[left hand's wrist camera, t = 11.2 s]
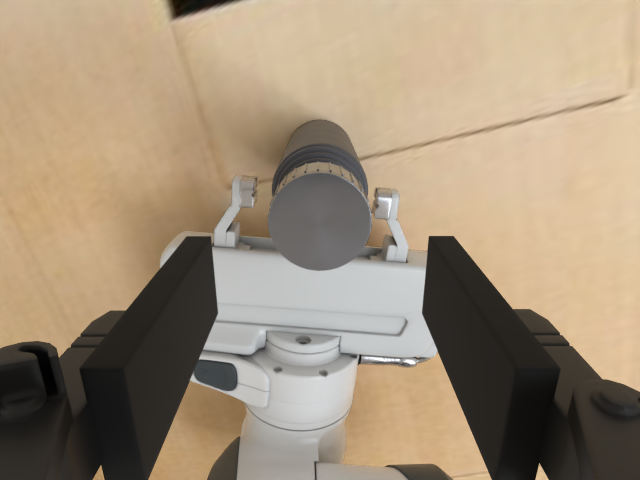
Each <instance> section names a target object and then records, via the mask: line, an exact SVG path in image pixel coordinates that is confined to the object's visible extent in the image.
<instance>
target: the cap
mask: <svg viewBox="0 0 640 480" xmlns="http://www.w3.org/2000/svg"><path fill="white" fill-rule="evenodd" d="M368 202H369V200H368V197H367V195H366V192H365V190H364V191H363V189H362V186H361V183H360V181H358V180H357V179H356V178H355V177H354V176H353V174H352V173H351V172H348V171H347V170H345V169H344V168H342V166H337V165H334V164H331V162H329V163H324V162H319V161H317V162H316V163H309V164H307V163H305V165H303V166H300V167H298V168H294V170H293V171H292V172H290V173H289V174H288V175H285V177H284V179H283V180H282V182H281V183H280V184H278V186H277V189H276V191H275V194H274V195H273V198H272V200H271V203H270V206H271V207H270V211H269V214H268V227H269V232H270V236H271V239H272V241H273V243H274V245H275V247H276V248H277V250H278V251H279V252H280V253H281V254H282V255H283V257H285V258H286V259H287V260H288V261H290V262H291V263H293V264H295V265H297V266H299V267H301V268H304V269H308V270H315V271H326V270H332V269H335V268H339V267H341V266H343V265H345V264H347V263H349V262H350V261H352V260H353V259H354V258H355V257H356V256H357V255H358V254H359V253H360V252H361V251H362V250H363V248H364V247H365V245H366V243H367V241H368V239H369V236H370V232H371V226H372V217H371V214H372V211H371V209H370V206H369V203H368Z"/></svg>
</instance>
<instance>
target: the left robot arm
mask: <svg viewBox="0 0 640 480" xmlns="http://www.w3.org/2000/svg"><path fill="white" fill-rule="evenodd" d="M217 315H218V306H217V295H216V285H215V274H214V263H213V252H212V241H211V236H186V237H185V239H184V240H183V241H182V242H181V244H180V245H179V246H178V247H177V249H176V250H175V251H174V252H173V254H172V255H171V256H170V257H169V258H168V260H167V261H166V262H165V263H164V265H163V266H162V267H161V268H160V270H159V271H158V272H157V273H156V274H155V276H154V277H153V278H152V279H151V281H150V282H149V283H148V284H147V286H146V287H145V288H144V289H143V291H142V292H141V293H140V294H139V295H138V297H137V298H136V299H135V300H134V302H133V303H132V304H131V305H130V307H129V308H128V309H127V310H126V311H109V312H108V313H106V314H104V315H103V316H101V317H99V318H98V319H96V320H94V321H93V322H91V324H90V325H89V326H88V327H87V328H86V329H85V330H84V331H83V332H82V333H81V337H78V338H77V339H76V340H75V341H74V342H73V343H72V344H71V348H68V349H67V350H66V351H65V352H64V353H63V354H62V355H61V357H60V358H59V357H58V353H57V349H56V348H55V347H54V346H53V345H51V344H50V343H45V342H39V341H34V342H22V343H18V344H14V345H10V346H6V347H3V348H1V349H0V480H92V479H93V478H94V476H95V474H96V472H97V471H98V469H99V467H100V465H102V470H103V474H104V478H105V480H148V479H149V476H150V474H151V472H152V469H153V467H154V464H155V462H156V460H157V457H158V455H159V453H160V450H161V448H162V445H163V443H164V441H165V438H166V436H167V434H168V431H169V429H170V426H171V424H172V422H173V419H174V417H175V415H176V412H177V410H178V407H179V405H180V403H181V400H182V398H183V396H184V393H185V391H186V388H187V386H188V384H189V381H190V379H191V377H192V374H193V372H194V369H195V367H196V365H197V362H198V360H199V358H200V355H201V353H202V351H203V348H204V346H205V343H206V341H207V339H208V336H209V334H210V332H211V329H212V327H213V324H214V322H215V320H216V317H217ZM422 315H423V317H424V320H425V322H426V324H427V327H428V329H429V332H430V334H431V336H432V339H433V341H434V343H435V346H436V348H437V351H438V353H439V355H440V358H441V360H442V362H443V365H444V367H445V369H446V372H447V374H448V377H449V379H450V381H451V384H452V386H453V388H454V391H455V393H456V396H457V398H458V400H459V403H460V405H461V407H462V410H463V412H464V415H465V417H466V419H467V422H468V424H469V426H470V429H471V431H472V434H473V436H474V438H475V441H476V443H477V445H478V448H479V450H480V453H481V455H482V457H483V460H484V462H485V464H486V467H487V469H488V472H489V474H490V476H491V479H492V480H535V478H536V474H537V470H538V465H539V463H540V465H541V466H542V468H543V470H544V472H545V474H546V475H547V477H548V479H549V480H640V392H639V391H636V390H634V389H632V388H630V387H628V386H626V385H624V384H620V383H617V382H613V381H610V380H604V379H602V378H601V377H600V376H599V375H598V374H597V373H596V372H595V371H594V370H593V369H592V367H591V366H590V365H589V364H588V363H587V362H586V361H585V360H584V359H583V358H582V357H581V356H580V354H579V353H578V352H577V351H576V350H575V349H574V348H573V347H572V346H570V345H569V342H568V341H567V340H566V339H565V338H564V337H563V336H562V335H560V333H559V332H558V330H557V329H556V328H555V327H554V326H553V325H552V324H551V323H550V322H549V321H548V320H547V319H545V318H544V317H542V316H540V315H539V314H537V313H535V312H534V311H532V310H530V309H512V308H511V307H510V305H509V304H508V303H507V302H506V300H505V299H504V298H503V297H502V295H501V294H500V293H499V292H498V291H497V289H496V288H495V287H494V286H493V284H492V283H491V282H490V281H489V279H488V278H487V277H486V276H485V274H484V273H483V272H482V271H481V270H480V268H479V267H478V266H477V265H476V263H475V262H474V261H473V260H472V258H471V257H470V256H469V255H468V254H467V252H466V251H465V250H464V249H463V247H462V246H461V245H460V244H459V242H458V241H457V240H456V239H455V237H454V236H429V241H428V252H427V263H426V274H425V285H424V295H423V306H422Z"/></svg>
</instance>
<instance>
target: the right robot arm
mask: <svg viewBox="0 0 640 480" xmlns="http://www.w3.org/2000/svg"><path fill="white" fill-rule="evenodd" d="M257 185H258V177H253V176H243V175H235V177H234V178H233V182H232V203H231V205H230V206H229V208H228V209H227V211H226V212H225V214H224V216H223V217H222V219H221V220H220V222H219V223H218V225H217V226H216V228H215V229H214V233H207V232H196V231H183V232H181V233H180V234H178V235H177V236H176V237H175V238H174V239H173V240H172V241H171V242H170V243H169V244H168V245H167V247H166V248H165V249H164V251H163V253H162V255H161V258H160V268H161V267H162V266H163V265H164V263H165V262H166V261H167V260H168V258H169V257H170V256H171V255H172V254H173V252H174V251H175V250H176V249H177V247H178V246H179V245H180V244H181V242H182V241H183V240H184V239H185V237H186V236H211V241H212V252H213V263H214V274H215V285H216V295H217V306H218V315H217V317H216V320H215V322H214V324H213V327H212V329H211V332H210V334H209V336H208V339H207V341H206V343H205V346H204V348H203V351H202V353H201V355H200V358H199V360H198V362H197V365H196V367H195V369H194V372H193V374H192V377H191V379H190V381H191V382H194V383H197V384H200V385H203V386H206V387H209V388H212V389H215V390H217V391H220V392H223V393H225V394H228V395H230V396H232V397H234V398H237V399H239V400H241V401H243V402H244V405H245V408H246V416H245V418H244V421H243V424H242V428H241V436H239V437H238V438H236V439H235V440H234V441H233V442H232V443H231V444H230V445H229V446H228V447H227V448H226V450H225V451H224V452H223V453H222V454H221V456H220V457H219V458H218V459H217V461H216V462H215V463H214V465H213V467H212V469H211V471H210V473H209V476H208V479H207V480H453V479H452V478H451V477H450V476H449V475H447V474H446V473H445V472H444V471H443V470H441V469H440V468H439V467H438V466H436V465H434V464H410V465H387V466H385V467H378V466H364V465H349V464H343V461H344V456H345V450H346V442H347V432H346V427H345V419H346V418H347V416H348V414H349V412H350V409H351V406H352V402H353V395H354V388H355V382H356V375H357V366H358V365H359V364H366V365H397V366H399V367H407V368H409V367H415V366H416V365H417V363H421V362H424V361H427V360H429V359H430V358H432V357H434V356H435V355H436V353H437V348H436V346H435V343H434V341H433V339H432V336H431V334H430V332H429V329H428V327H427V324H426V322H425V320H424V317H423V315H422V306H423V295H424V285H425V274H426V263H427V252H428V251H420V250H408V247H409V246H408V244H407V241H406V239H405V237H404V234H403V232H402V229H401V227H400V225H399V222H398V220H397V212H398V205H399V192H398V190H397V189H389V188H377V187H376V188H375V190H374V197H375V200H374V201H373V204H372V213H373V214H374V218H377V219H386V221H387V223H388V225H389V228H390V230H391V233H392V236H391V235H384V239H383V245H382V247H373V246H365V247H364V248H363V250H362V251H361V252H360V253H359V254H358V255H357V256H356V257H355V258H354V259H353V260H352V261H350V262H349V263H347V264H345V265H343V266H341V267H339V268H335V269H332V270H326V271H315V270H308V269H304V268H301V267H299V266H297V265H295V264H293V263H291V262H290V261H288V260H287V259H286V258H285V257H283V255H282V254H281V253H280V252H279V251H278V250H277V248H276V247H275V245H274V243H273V241H272V239H271V238H266V237H255V236H243V235H240V223H239V222H232V221H233V219H234V218H235V216H236V215H237V213H238V212H239V210H240V209H241V207H250V208H254V206H255V203H256V202H257V190H256V187H257ZM417 357H418V358H417Z"/></svg>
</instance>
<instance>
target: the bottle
mask: <svg viewBox="0 0 640 480" xmlns="http://www.w3.org/2000/svg"><path fill="white" fill-rule="evenodd" d="M317 161H319V162H324V163H329V162H331V164H334V165H337V166H342V168H344V169H345V170H347V171H348V172H351V173H352V174H353V176H354V177H355V178H356V179H357V180H358V181H360V183H361V186H362V189H363V191H364V190H365V192H366V195H367V196H368V184H367V179H366V175H365V173H364V171H363V168H362V166H361V164H360V161H359V159H358V157H357V155H356V152H355V150H354V148H353V145H352V143H351V141H350V139H349V137H348V135H347V133H346V132H345V131H344V130H343V129H342V128H341V127H340V126H338V125H337V124H335V123H333V122H330V121H326V120H314V121H310V122H307V123H305V124H303V125H302V126H300V127H299V128H298V129H297V130H296V131H295V132H294V134H293V135H292V137H291V139H290V141H289V143H288V145H287V148H286V150H285V152H284V154H283V157H282V159H281V161H280V163H279V166H278V168H277V170H276V173H275V175H274V178H273V184H272V197H273V195H274V194H275V191H276V189H277V186H278V184H280V183H281V182H282V180H283V179H284V177H285V175H288V174H289V173H290V172H292V171H293V170H294V168H298V167H300V166H303V165H305V163H307V164H309V163H316V162H317Z"/></svg>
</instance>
